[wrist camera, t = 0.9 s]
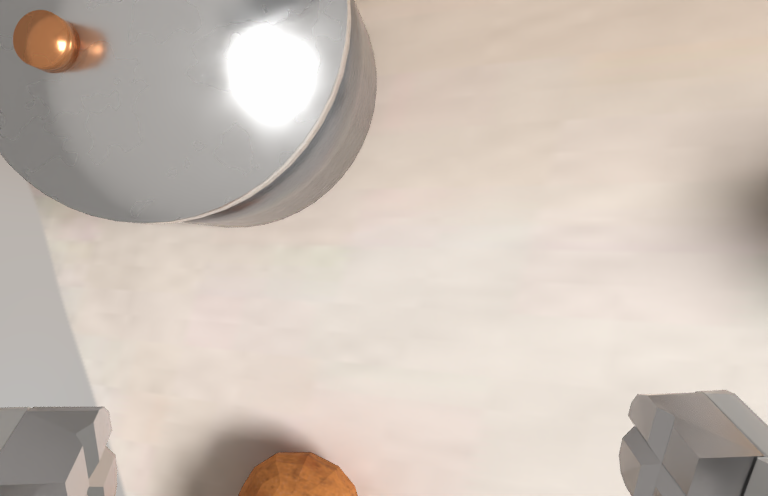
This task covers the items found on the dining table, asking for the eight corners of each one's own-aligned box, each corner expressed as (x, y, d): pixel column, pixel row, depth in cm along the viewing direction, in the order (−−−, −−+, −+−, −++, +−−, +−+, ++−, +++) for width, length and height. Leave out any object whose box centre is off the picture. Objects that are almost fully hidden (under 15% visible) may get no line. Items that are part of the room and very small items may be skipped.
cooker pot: (250, 285, 45) (176, 297, 33) (51, 106, 47) (-87, 57, 35) (503, -16, 43) (520, -118, 31) (285, -190, 45) (223, -348, 33)
